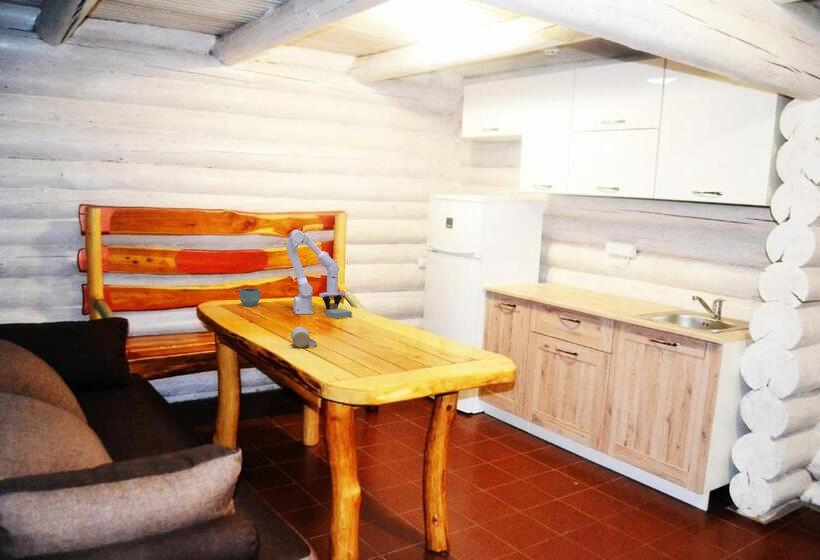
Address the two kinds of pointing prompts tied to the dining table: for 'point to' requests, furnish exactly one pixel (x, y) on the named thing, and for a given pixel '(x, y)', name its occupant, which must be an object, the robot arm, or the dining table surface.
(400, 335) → the dining table surface
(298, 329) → the ceramic mug
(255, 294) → the flower pot
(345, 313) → the base block
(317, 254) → the robot arm
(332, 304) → the walnut cube
